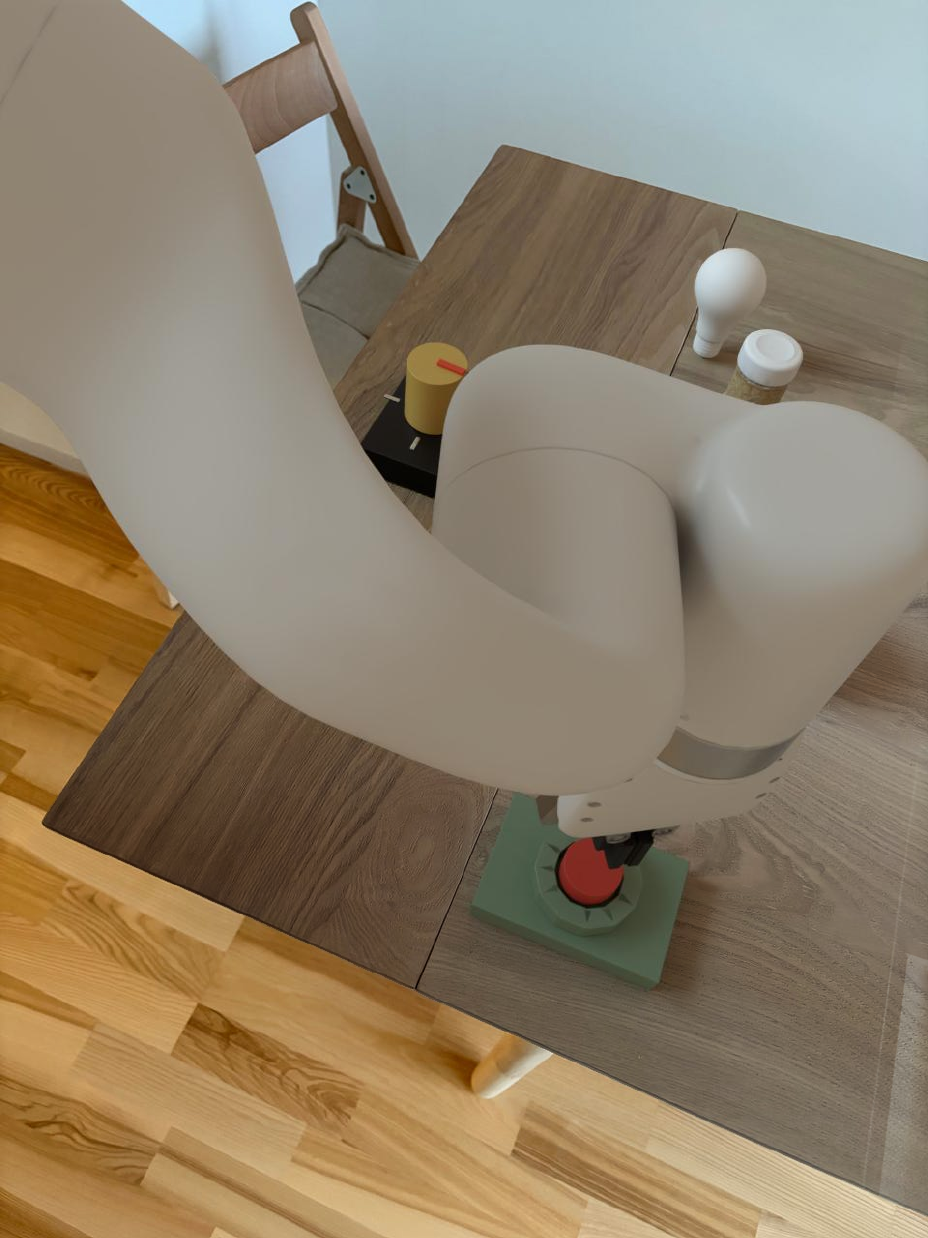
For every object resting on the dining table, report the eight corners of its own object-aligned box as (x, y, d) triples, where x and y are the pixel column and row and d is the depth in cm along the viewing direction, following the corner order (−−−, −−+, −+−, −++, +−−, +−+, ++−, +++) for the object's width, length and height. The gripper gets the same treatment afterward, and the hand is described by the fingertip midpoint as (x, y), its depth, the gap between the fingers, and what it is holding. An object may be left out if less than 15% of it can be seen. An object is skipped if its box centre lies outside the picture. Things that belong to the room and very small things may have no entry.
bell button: (550, 891, 57) (555, 882, 55) (569, 838, 59) (574, 828, 57) (607, 914, 56) (613, 906, 55) (623, 860, 58) (630, 851, 57)
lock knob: (394, 420, 77) (395, 366, 73) (421, 385, 80) (425, 331, 75) (445, 443, 77) (451, 390, 72) (472, 406, 79) (478, 353, 74)
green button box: (468, 914, 59) (473, 896, 56) (510, 804, 63) (518, 780, 60) (649, 991, 58) (666, 976, 54) (681, 872, 62) (699, 852, 59)
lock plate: (452, 506, 77) (455, 480, 74) (353, 468, 78) (352, 442, 76) (504, 411, 83) (509, 384, 81) (412, 378, 85) (413, 351, 82)
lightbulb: (665, 365, 88) (699, 265, 79) (679, 325, 92) (714, 225, 82) (728, 384, 88) (770, 286, 78) (740, 344, 91) (782, 244, 82)
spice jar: (686, 449, 83) (737, 327, 71) (735, 446, 83) (793, 324, 72) (702, 489, 80) (756, 369, 69) (752, 485, 81) (814, 366, 70)
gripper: (851, 585, 40) (721, 762, 55) (507, 621, 38) (472, 796, 53) (925, 745, 36) (763, 888, 51) (547, 796, 34) (496, 930, 49)
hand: (615, 841), depth 52 cm, fingers closed
